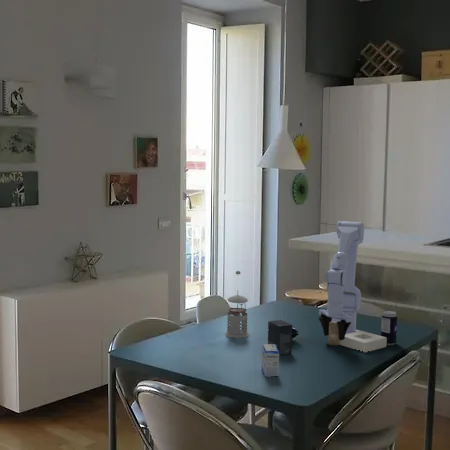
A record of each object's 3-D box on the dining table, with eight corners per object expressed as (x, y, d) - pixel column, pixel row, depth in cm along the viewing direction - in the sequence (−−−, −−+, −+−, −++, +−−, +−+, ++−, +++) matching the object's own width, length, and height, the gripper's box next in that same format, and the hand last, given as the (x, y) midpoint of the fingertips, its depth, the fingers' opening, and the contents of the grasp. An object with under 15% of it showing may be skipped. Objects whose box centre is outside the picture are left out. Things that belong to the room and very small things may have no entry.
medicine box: (261, 369, 230) (262, 343, 229) (274, 369, 231) (275, 343, 230) (264, 377, 222) (265, 350, 221) (278, 377, 223) (279, 350, 222)
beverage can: (396, 346, 259) (397, 314, 258) (380, 345, 260) (381, 313, 259) (396, 342, 264) (397, 311, 263) (380, 341, 266) (381, 310, 264)
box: (291, 353, 248) (292, 324, 247) (278, 355, 246) (278, 325, 245) (280, 347, 255) (281, 319, 254) (267, 349, 253) (267, 320, 252)
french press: (220, 335, 270) (221, 271, 267) (231, 328, 281) (232, 267, 278) (244, 338, 266) (245, 274, 263) (254, 331, 277) (256, 269, 274)
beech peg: (326, 343, 261) (326, 322, 260) (333, 341, 264) (334, 321, 263) (334, 346, 258) (334, 324, 257) (341, 344, 261) (342, 323, 260)
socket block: (339, 344, 260) (340, 335, 260) (361, 339, 267) (361, 330, 267) (364, 352, 251) (365, 342, 250) (386, 346, 258) (386, 337, 258)
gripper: (313, 299, 262) (312, 334, 264) (342, 306, 251) (341, 343, 252) (326, 297, 267) (325, 332, 268) (355, 304, 255) (354, 340, 257)
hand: (334, 337), depth 260 cm, fingers open, 7 cm apart
